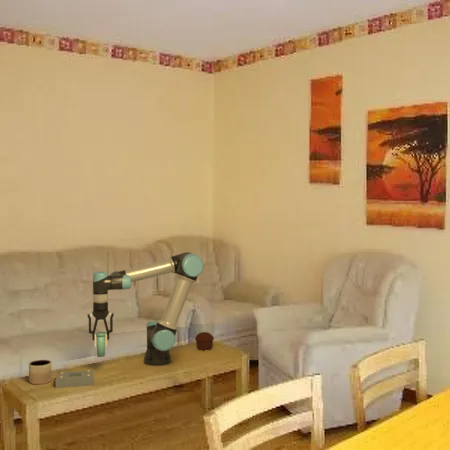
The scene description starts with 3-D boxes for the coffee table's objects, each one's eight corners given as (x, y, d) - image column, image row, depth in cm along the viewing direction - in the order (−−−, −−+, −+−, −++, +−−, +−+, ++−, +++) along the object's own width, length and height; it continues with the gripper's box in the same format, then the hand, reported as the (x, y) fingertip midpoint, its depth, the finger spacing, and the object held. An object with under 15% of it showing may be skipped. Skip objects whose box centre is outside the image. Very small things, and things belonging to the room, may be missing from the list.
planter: (33, 378, 294) (33, 359, 293) (54, 378, 293) (54, 359, 293) (25, 385, 283) (25, 365, 282) (47, 385, 282) (47, 365, 282)
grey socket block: (93, 377, 294) (93, 368, 294) (93, 385, 282) (93, 375, 282) (57, 380, 290) (56, 371, 290) (55, 387, 278) (55, 378, 278)
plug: (105, 354, 302) (105, 331, 302) (105, 356, 297) (105, 333, 297) (96, 355, 301) (95, 332, 300) (96, 357, 296) (96, 334, 296)
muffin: (217, 348, 350) (217, 332, 350) (206, 352, 342) (206, 335, 341) (203, 345, 358) (202, 329, 357) (191, 349, 349) (191, 333, 349)
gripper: (117, 299, 304) (117, 343, 305) (82, 301, 300) (83, 345, 301) (118, 302, 296) (118, 347, 297) (82, 303, 292) (83, 348, 293)
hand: (100, 346), depth 299 cm, fingers closed on plug, 5 cm apart
